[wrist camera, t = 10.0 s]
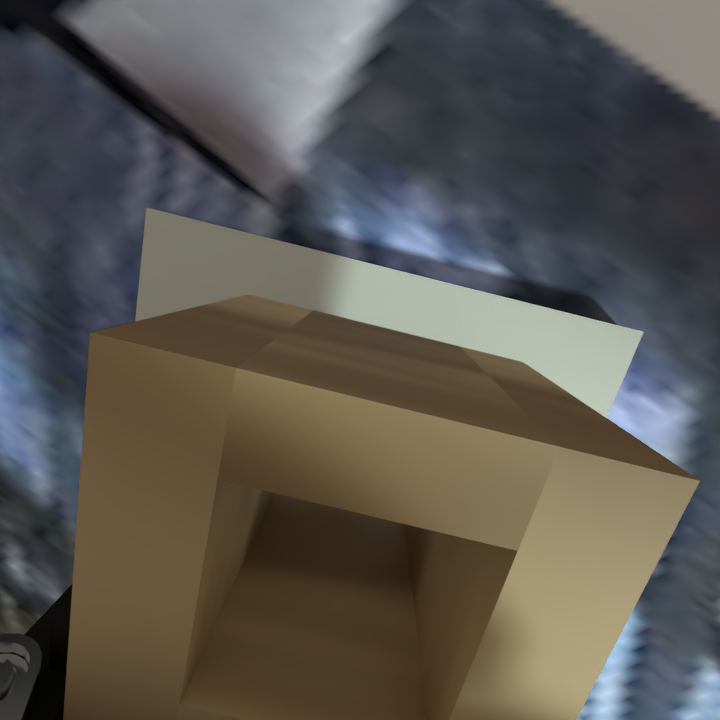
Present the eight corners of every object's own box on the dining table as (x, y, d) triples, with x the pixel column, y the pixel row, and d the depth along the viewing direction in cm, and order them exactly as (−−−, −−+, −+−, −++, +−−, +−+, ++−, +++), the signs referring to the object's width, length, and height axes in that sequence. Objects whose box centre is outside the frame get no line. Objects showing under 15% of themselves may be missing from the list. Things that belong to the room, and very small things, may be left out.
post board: (618, 325, 15) (767, 362, 9) (495, 623, 19) (547, 783, 13) (168, 212, 15) (35, 180, 9) (132, 536, 19) (20, 659, 13)
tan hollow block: (248, 294, 9) (90, 333, 4) (522, 361, 9) (699, 480, 4) (180, 699, 12) (43, 1003, 7) (385, 745, 12) (390, 1076, 7)
